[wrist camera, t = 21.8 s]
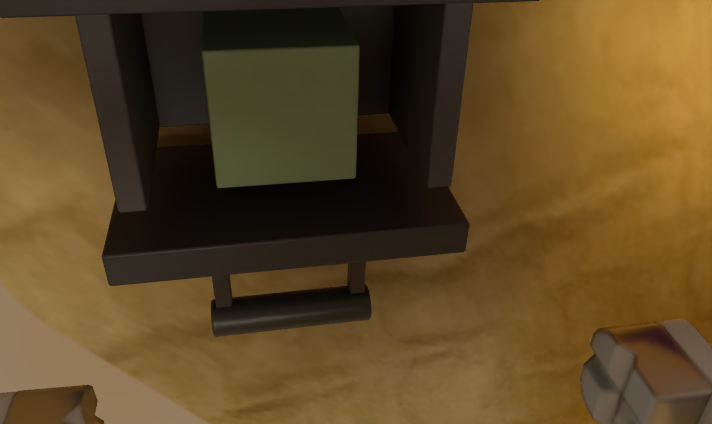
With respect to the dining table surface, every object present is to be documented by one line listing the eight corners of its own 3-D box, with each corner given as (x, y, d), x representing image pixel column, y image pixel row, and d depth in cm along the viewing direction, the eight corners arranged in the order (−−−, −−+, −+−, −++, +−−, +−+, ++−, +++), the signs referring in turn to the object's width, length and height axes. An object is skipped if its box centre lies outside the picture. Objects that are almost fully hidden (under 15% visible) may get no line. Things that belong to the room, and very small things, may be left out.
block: (336, 1, 22) (360, 45, 18) (335, 120, 24) (356, 179, 21) (203, 4, 21) (201, 50, 17) (216, 126, 23) (216, 189, 20)
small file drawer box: (407, 245, 30) (451, 352, 24) (150, 269, 28) (134, 392, 22) (449, -278, 19) (547, -303, 13) (38, -296, 17) (-48, -333, 12)
